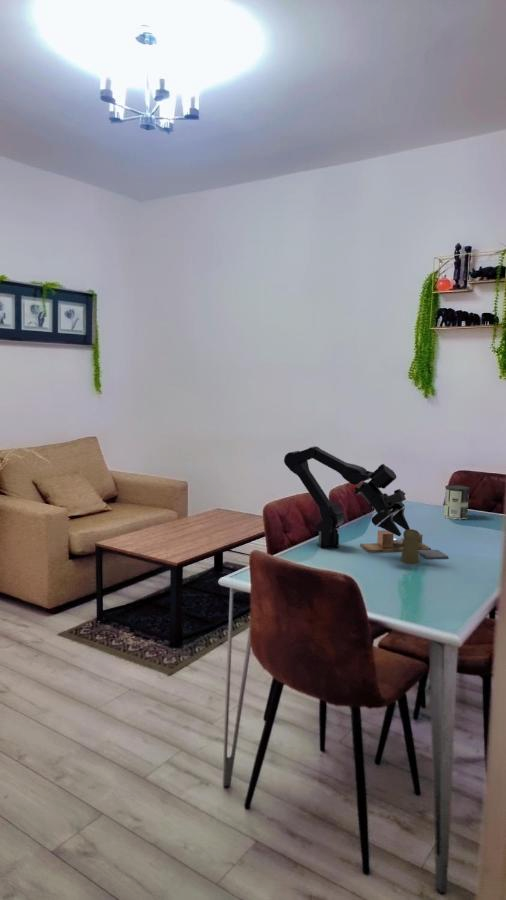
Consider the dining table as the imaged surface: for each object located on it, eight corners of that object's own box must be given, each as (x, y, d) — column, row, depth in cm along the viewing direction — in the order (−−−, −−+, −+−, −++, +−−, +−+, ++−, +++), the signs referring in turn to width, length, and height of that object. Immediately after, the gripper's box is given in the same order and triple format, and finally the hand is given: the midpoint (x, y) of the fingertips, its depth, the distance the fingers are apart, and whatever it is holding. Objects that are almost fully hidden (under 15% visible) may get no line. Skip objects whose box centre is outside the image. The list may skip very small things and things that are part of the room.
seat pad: (426, 559, 204) (426, 556, 204) (416, 552, 212) (416, 550, 211) (448, 558, 205) (448, 556, 205) (437, 551, 213) (437, 549, 213)
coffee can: (462, 515, 273) (464, 485, 272) (470, 520, 263) (472, 489, 261) (440, 514, 273) (442, 484, 272) (447, 519, 263) (449, 488, 262)
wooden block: (382, 547, 212) (382, 534, 211) (377, 543, 217) (377, 530, 216) (408, 547, 214) (409, 533, 213) (402, 543, 218) (403, 529, 218)
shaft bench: (367, 552, 210) (368, 536, 209) (360, 546, 218) (360, 531, 217) (431, 551, 214) (431, 535, 213) (421, 544, 221) (422, 529, 221)
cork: (419, 564, 197) (421, 532, 196) (401, 563, 198) (402, 531, 197) (418, 559, 203) (420, 528, 202) (400, 558, 204) (401, 527, 203)
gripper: (382, 486, 194) (413, 524, 189) (400, 478, 209) (429, 513, 205) (358, 506, 199) (389, 544, 194) (378, 498, 214) (406, 532, 210)
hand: (404, 532), depth 201 cm, fingers open, 9 cm apart
